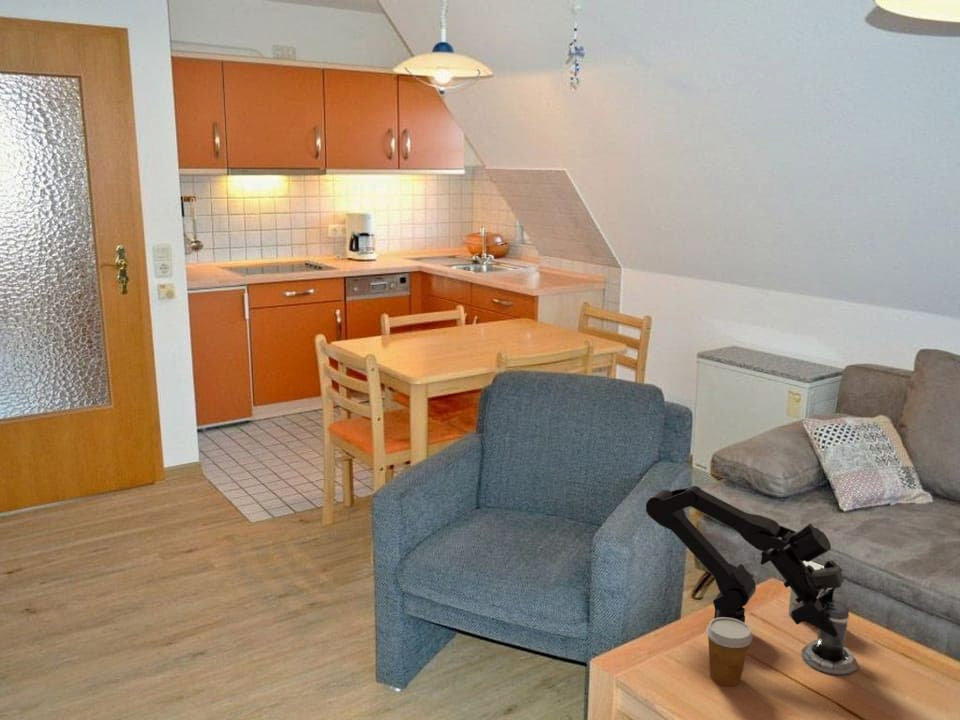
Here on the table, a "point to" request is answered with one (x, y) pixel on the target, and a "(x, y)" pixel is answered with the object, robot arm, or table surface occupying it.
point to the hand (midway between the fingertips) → (839, 630)
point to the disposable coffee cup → (727, 649)
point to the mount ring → (825, 666)
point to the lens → (828, 644)
